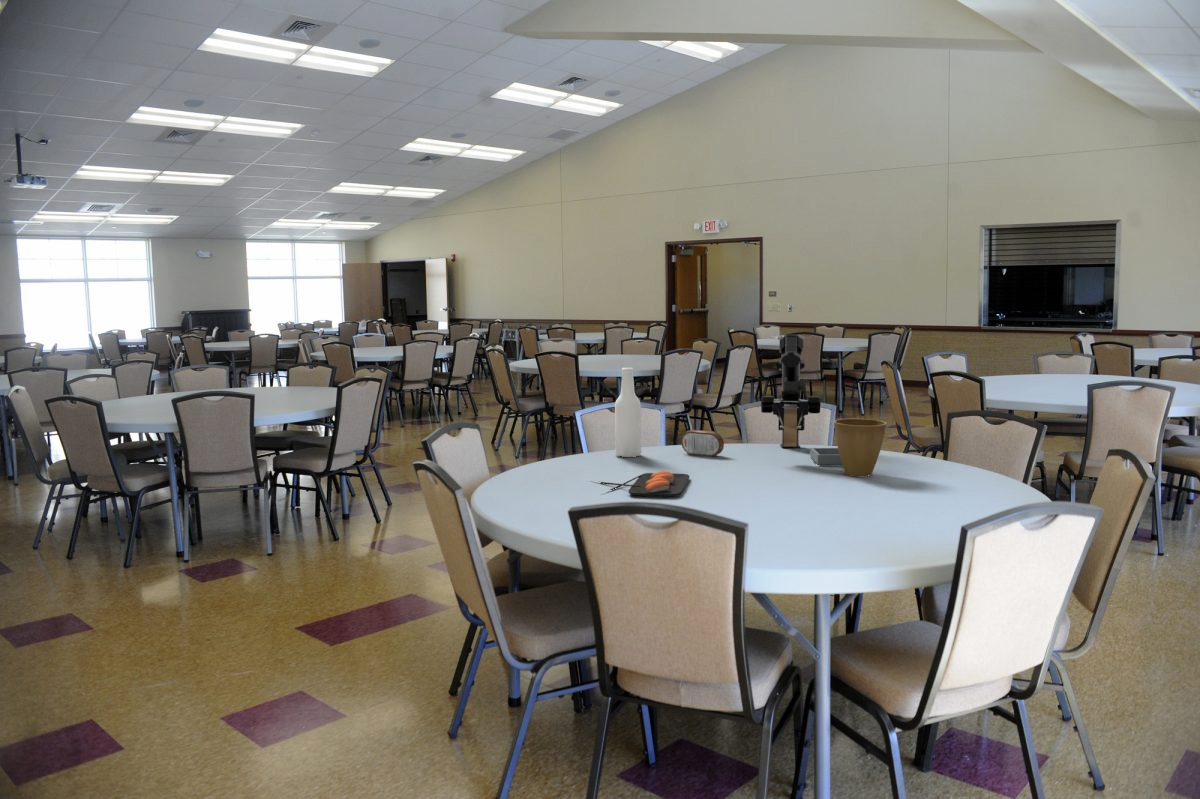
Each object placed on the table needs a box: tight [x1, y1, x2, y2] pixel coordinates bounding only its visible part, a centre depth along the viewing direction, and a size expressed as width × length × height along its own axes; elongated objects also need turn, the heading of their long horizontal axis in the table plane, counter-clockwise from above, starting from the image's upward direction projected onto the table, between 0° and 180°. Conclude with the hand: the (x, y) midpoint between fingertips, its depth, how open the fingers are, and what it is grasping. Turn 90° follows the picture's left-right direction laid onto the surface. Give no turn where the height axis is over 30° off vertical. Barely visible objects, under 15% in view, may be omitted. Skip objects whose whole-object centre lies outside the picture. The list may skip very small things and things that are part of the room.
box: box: [809, 447, 842, 466], centre depth 294 cm, size 14×14×4 cm
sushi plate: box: [600, 470, 690, 497], centre depth 261 cm, size 29×30×4 cm
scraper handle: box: [783, 404, 797, 447], centre depth 292 cm, size 4×4×13 cm
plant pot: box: [833, 418, 887, 477], centre depth 272 cm, size 15×15×16 cm
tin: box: [680, 429, 725, 457], centre depth 310 cm, size 15×3×8 cm, turn 58°
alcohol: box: [614, 367, 642, 458], centre depth 310 cm, size 9×9×30 cm
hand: (790, 425), depth 290 cm, fingers closed on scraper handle, 4 cm apart
